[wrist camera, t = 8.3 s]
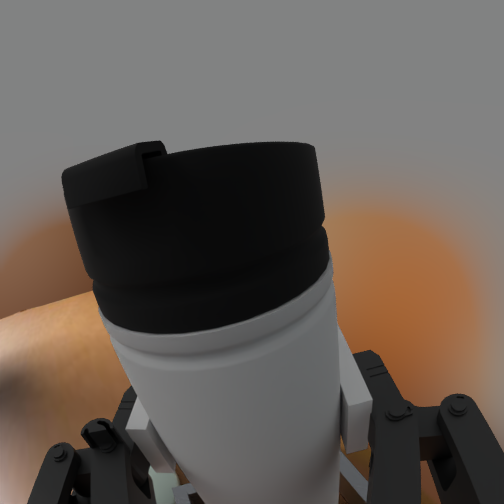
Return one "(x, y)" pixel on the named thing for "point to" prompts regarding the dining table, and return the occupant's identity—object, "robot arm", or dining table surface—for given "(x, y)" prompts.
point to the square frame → (349, 486)
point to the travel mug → (221, 309)
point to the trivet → (164, 486)
